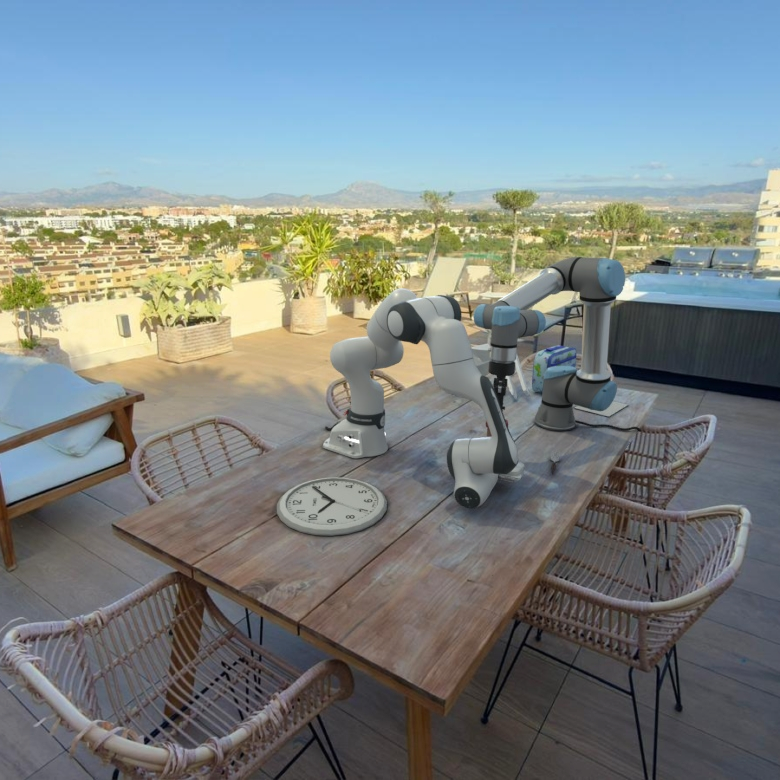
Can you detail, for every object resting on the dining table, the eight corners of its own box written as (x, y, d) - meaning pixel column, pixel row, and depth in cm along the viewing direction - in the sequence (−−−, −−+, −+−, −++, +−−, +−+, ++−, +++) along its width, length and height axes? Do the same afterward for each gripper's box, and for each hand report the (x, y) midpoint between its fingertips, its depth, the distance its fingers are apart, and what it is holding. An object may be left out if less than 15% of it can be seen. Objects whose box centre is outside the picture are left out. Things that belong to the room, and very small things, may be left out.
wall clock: (392, 527, 129) (268, 531, 127) (391, 533, 130) (269, 537, 127) (383, 473, 158) (282, 475, 155) (383, 478, 158) (282, 480, 156)
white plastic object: (461, 429, 252) (437, 405, 227) (444, 352, 274) (420, 323, 250) (535, 404, 240) (518, 377, 215) (510, 326, 262) (492, 293, 237)
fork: (547, 475, 162) (548, 469, 162) (551, 455, 176) (551, 449, 176) (556, 476, 161) (557, 470, 161) (559, 456, 176) (560, 451, 175)
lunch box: (548, 398, 236) (553, 353, 229) (527, 393, 243) (531, 349, 237) (575, 387, 253) (581, 344, 247) (555, 382, 260) (560, 341, 254)
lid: (496, 432, 153) (496, 426, 153) (481, 425, 159) (481, 419, 158) (512, 428, 157) (513, 422, 156) (497, 421, 162) (497, 415, 161)
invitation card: (608, 416, 214) (573, 407, 224) (608, 416, 214) (573, 408, 224) (628, 404, 229) (594, 396, 238) (628, 405, 229) (594, 397, 238)
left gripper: (520, 471, 144) (529, 452, 156) (450, 457, 152) (464, 440, 164) (518, 491, 146) (527, 471, 158) (448, 476, 154) (462, 458, 166)
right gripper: (490, 352, 161) (485, 422, 168) (487, 367, 143) (481, 445, 150) (515, 353, 160) (509, 424, 166) (515, 369, 142) (508, 448, 148)
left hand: (494, 455), depth 161 cm, fingers closed on jar, 5 cm apart
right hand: (496, 434), depth 158 cm, fingers closed on lid, 6 cm apart
